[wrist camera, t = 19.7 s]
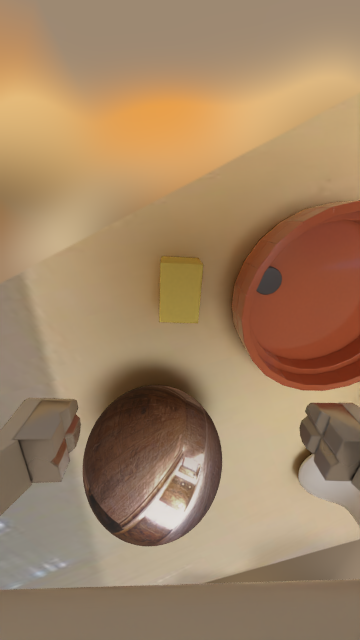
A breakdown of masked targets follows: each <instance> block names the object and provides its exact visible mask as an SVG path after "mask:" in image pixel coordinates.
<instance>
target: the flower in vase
mask: <svg viewBox="0 0 360 640" xmlns="http://www.w3.org/2000/svg"><path fill="white" fill-rule="evenodd" d="M298 479H299V482H300V484H301V486H302V487H303V488H304V489H305V490H306V491H307V492H309V493H310V494H312V495H314V496H316V497H318V498H321V499H324V500H327V501H330V502H333V503H336V504H339V505H341V506H343V507H345V508H346V509H347V510H348V511H349V512H350V513H351V515H352V516H353V517H354V519H355V520H356V522H357V523H358V525H359V527H360V491H359V490H358V489H357V488H356V487H355V486H354V485H353V484H351V481H325V480H324V478H323V476H322V474H321V473H320V471H319V469H318V468H317V466H316V464H315V463H314V454H311V455H310V456H309V457H307V458H306V459H305V460H304V462H303V463H302V464H301V466H300V469H299V475H298Z"/></svg>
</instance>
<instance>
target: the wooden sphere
mask: <svg viewBox="0 0 360 640" xmlns="http://www.w3.org/2000/svg"><path fill="white" fill-rule="evenodd" d="M221 471H222V451H221V445H220V440H219V436H218V433H217V430H216V428H215V425H214V423H213V421H212V419H211V418H210V416H209V414H208V413H207V412H206V410H205V409H204V408H203V407H202V405H201V404H200V403H199V402H197V401H196V400H195V399H194V398H193V397H191V396H190V395H188V394H187V393H185V392H183V391H181V390H178V389H176V388H173V387H169V386H162V385H151V386H144V387H140V388H137V389H134V390H131V391H129V392H127V393H125V394H124V395H122V396H120V397H119V398H117V399H116V400H115V401H114V402H112V403H111V404H110V405H109V406H108V407H107V408H106V409H105V411H104V412H103V413H102V414H101V416H100V417H99V418H98V420H97V421H96V423H95V425H94V427H93V429H92V431H91V433H90V435H89V438H88V441H87V444H86V448H85V452H84V458H83V482H84V488H85V493H86V496H87V499H88V502H89V504H90V507H91V509H92V511H93V513H94V514H95V516H96V517H97V519H98V520H99V522H100V523H101V524H102V525H103V526H104V527H105V528H106V529H107V530H108V531H109V532H110V533H111V534H113V535H114V536H116V537H117V538H119V539H121V540H123V541H125V542H128V543H131V544H134V545H139V546H158V545H163V544H167V543H170V542H172V541H174V540H177V539H179V538H180V537H182V536H184V535H185V534H187V533H188V532H189V531H191V530H192V529H193V528H194V527H195V526H196V525H197V524H198V523H199V522H200V521H201V520H202V518H203V517H204V516H205V514H206V513H207V511H208V510H209V508H210V506H211V504H212V502H213V500H214V498H215V496H216V493H217V490H218V487H219V483H220V478H221Z"/></svg>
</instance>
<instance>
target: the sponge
mask: <svg viewBox="0 0 360 640" xmlns="http://www.w3.org/2000/svg"><path fill="white" fill-rule="evenodd" d="M202 274H203V264H202V262H201V261H200V260H199V258H188V257H167V256H162V257H161V262H160V300H159V322H173V323H198V317H199V306H200V296H201V285H202Z"/></svg>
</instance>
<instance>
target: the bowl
mask: <svg viewBox="0 0 360 640" xmlns="http://www.w3.org/2000/svg"><path fill="white" fill-rule="evenodd" d="M269 266H272V267H274V268H276V269H278V270H279V271H280V273H281V275H282V282H281V285H280V287H279V288H278V290H276V291H275V292H274V293H272V294H268V295H263V294H260V293H259V292H257V291H256V290H257V288H258V286H259V284H260V281H261V279H262V277H263V275H264V273H265V271H266V270H267V269H268V267H269ZM232 314H233V322H234V327H235V329H236V331H237V333H238V336H239V338H240V340H241V342H242V344H243V346H244V347H245V349H246V351H247V352H248V354H249V356H250V358H251V359H252V361H253V362H254V363H255V364H256V365H257V366H258V368H259V369H260V370H261V371H262V372H263V373H264V374H265V375H266V376H268V377H269V378H271V379H273V380H275V381H276V382H278V383H280V384H282V385H284V386H288V387H292V388H296V389H300V390H317V391H324V390H330V389H335V388H340V387H345V386H349V385H351V384H354V383H356V382H359V381H360V200H354V201H344V202H333V203H328V204H324V205H319V206H315V207H310V208H307V209H304V210H302V211H300V212H298V213H296V214H294V215H293V216H291V217H289V218H287V219H285V220H283V221H281V222H280V223H279V224H278V225H276V226H275V227H274V228H273V229H272V230H271V231H270V232H268V233H267V234H266V235H265V236H264V237H263V238H261V239H260V240H259V242H258V243H257V244H256V246H255V247H254V248H253V250H252V251H251V252H250V254H249V255H248V257H247V258H246V259H245V261H244V263H243V265H242V268H241V270H240V272H239V275H238V277H237V280H236V282H235V285H234V292H233V299H232Z"/></svg>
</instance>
